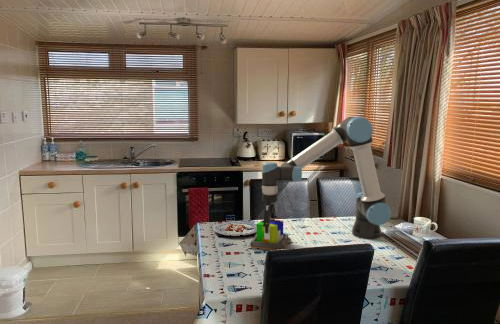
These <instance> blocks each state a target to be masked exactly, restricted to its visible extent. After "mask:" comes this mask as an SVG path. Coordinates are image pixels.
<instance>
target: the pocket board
mask: <svg viewBox="0 0 500 324" xmlns="http://www.w3.org/2000/svg"><path fill="white" fill-rule="evenodd" d="M289 242H291V236H289V234H288V233H283V241H282V242H280V243H266V242H257V233H256V234H255V236H254V237H253V238H252V239H251V240H250V243H249V244H248V246H247V247H251V248H259V249H258V250H261V249H266V250H265V251H273V250H277V249H287V247H288V245H289Z"/></svg>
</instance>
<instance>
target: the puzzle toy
mask: <svg viewBox="0 0 500 324" xmlns="http://www.w3.org/2000/svg"><path fill="white" fill-rule="evenodd" d="M263 223H264V219H263V220H261V221H260V222H257V223H255V224H256V225H257V232H256V234H257V242H266V243H280V242H282V241H283V234H284V221H282V220H276V219H275V220H270V239H264V226H263ZM266 224H267V223H266Z"/></svg>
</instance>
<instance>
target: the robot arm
mask: <svg viewBox="0 0 500 324" xmlns="http://www.w3.org/2000/svg"><path fill="white" fill-rule="evenodd" d="M373 132H374V127H373V124H372V123H371V122H370V121H369V120H368V119H367V118H365V117H362V116H348V117H347V118H345V119H344V120H342V121H341V122H340V123H338V124H336V125H335V126H334V127H333V128H331V131H330V132H329V133H327V134H326V135H324V136H323V137H321V138H320V139H318V140H317V141H315V142H314V143H312V144H311V145H309V146H308V147H307V148H305V149H304V150H302V151H301V152H299V153H298V154H296V155H295V156H294V157H292V158H291V159H289V160H287V161H284V162H282V163H281V164H280V166H279V165H278V162H276V161H275V162H273V161H269V162H268V161H267V162H263V163H262V165H261V167H262V168H261V170H262V171H261V180H262V181H261V183H262V185H261V189H262V190H261V191H262V195H261V196H262V197H261V198H262V199H261V200H262V202H264V203H266V204H265V205H264V213H263V220H264V223H263V226H264V239H270V220H276V219H277V218H278V216H277V214H276V213H277V211H276V202H277V201H278V183H280V182H282V183H283V182H284V183H285V182H289V183H292V182H294V183H295V182H301V181H302V177H303V170H302V169H304V168H306V167H307V166H308V165H310V164H312V163H313V162H314V161H316V160H317V159H319V158H321V157H322V156H323V155H325V154H326V153H328V152H329V151H331V150H332V149H334V148H335V147H336V146H339V145H340V144H341V145H343V144H345V143H346V142H347V144H348V148H350V149H351V150H352V153H353V157H354V162H355V166H356V170H357V174H358V175H357V176H358V179H359V183H360V188H361V192H357V193H356V197H355V199H356V200H355V204H356V205H355V207H356V208H355V221H354V224H353V226H352V230H351V232H352V234H351V235H353V236H355V237H356V238H361V239H367V240H369V239H370V240H371V239H378V238H380V237H382V229H381V226H382V225H384V224H386V223H387V222H389V220H390V219H391V217H392V210H391V208H390V206H389V205H388V204H387V199H386V195H385V193H383V192H382V191H381V187H380V186H381V185H380V183H379V179H378V175H377V174H378V173H377V169H376V165H375V160H374V156H373V151H372V147H371V146H372V144H373V142H374V141H373V136H372V135H373ZM266 223H267V224H266Z"/></svg>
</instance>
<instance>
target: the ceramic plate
mask: <svg viewBox="0 0 500 324" xmlns="http://www.w3.org/2000/svg"><path fill="white" fill-rule="evenodd" d="M231 223H239V224H247V225H250V226H252V227H253V228H254V231H252V232H250V233H246V234H227V233H223V232H221V231H220V230H219V227H221V226H223V225H226V224H229V225H228V226H229V227H227V228H226V230H225V231H233V229H231V228H235V227H236V226H237V225H233V224H231ZM256 224H257V223H254V222H250V221H244V220H240V221H239V220H234V221H233V220H232V221H225V222H222V223H218V224H216V225H215V226H214V227H213V230H214V232H215V233H217V234H220V235H224V236H230V235H231V236H230V237H240V235H243V236H248V235H251V234H255V233H257V225H256ZM230 227H231V228H230ZM242 228H244V229H246V227H245V226H244V225H239V226H238V228H237V229H234V230H235V231H236V232H243V230H244V229H243V230H242ZM248 229H250V228H247V230H248Z"/></svg>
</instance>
